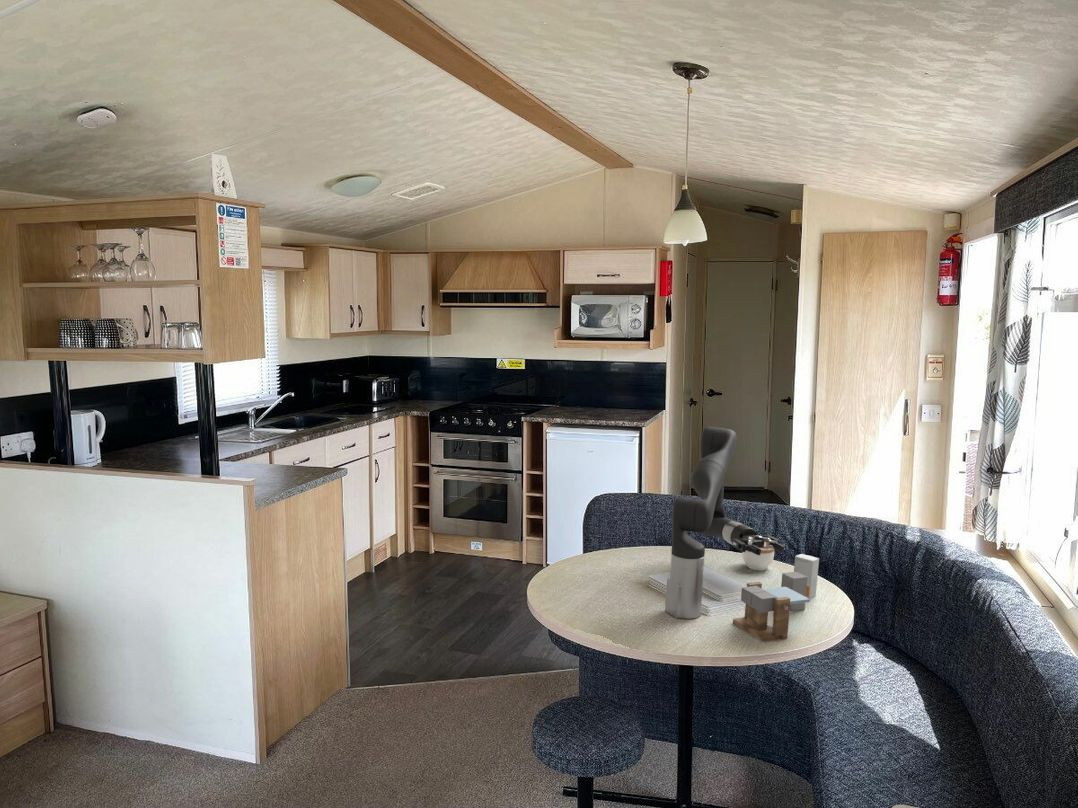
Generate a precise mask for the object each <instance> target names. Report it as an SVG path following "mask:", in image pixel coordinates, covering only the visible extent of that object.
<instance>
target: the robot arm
mask: <svg viewBox="0 0 1078 808" xmlns="http://www.w3.org/2000/svg"><path fill="white" fill-rule="evenodd" d="M737 437H738V436H737V434H736V432H735V431H734V430H732V429H730V428H724V427H717V426H705V427H704V428H703V430H702V433H701V437H700V447H699V448H700V460H699V461H698V462H696V465H695V467H694V468H693V473H692V475H691V485H692V488H693V490H694V492H695V493H696V494H697V496H698V497H699V498H700V499H699V498H692V497H691V498H690V497H683V496H679V497H677V498H675V500H674V502H673V505H672V512H671V514H672V516H671V526H672V527H671V531H672V532H671V551H670V552H671V553H670V554H671V555H670V567H669V568H670V570H669V572H670V573H669V577H668V578H667V579H666V586H665V587H666V588H665V589H666V591H665V603H664V604H665V608H664V611H665V612H667V614H670V615H671V616H672V617H674V618H675V619H680V618H681V619H688V620H689V619H697V618H699V617H700V616H701V615H702V601H703V584H704V570H705V569H704V568H705V567H704V566H705V553H706V548H705V545H704V544H703V543H701V542H700V541H698V540H696V539H695V538H692V537H691V536H690V535H689V534H688V533H687V532H691V533H701V534H702V535H705V536H708V537H714V538H720V539H721V540H724V541H725V542H727V543H728V544H730V545H732V547H733V548H735V549H736V550H738V551H739V552H741V553H742V552H745V551H747V552H752V553H754V554H756V555H761V549H767V550H768V549H769V548H770V549H774V550H775V551H777V552H778V553H784V551H785V545H783V544H781V540H780V539H778V538H776V537H774V536H771V535H769V534H768V535H766V536H765V537H764V536H762V535H759V534H758V532H757V531H756V530H755V529H754V528H752V527H750V526H747V525H746V524H743V523H741V522H739V521H736V520H734V519H731V518H729V517H727V516H726V512H725V507H724V491H725V487H724V486H725V485H724V481H725V477H726V474H727V473H726V472H727V470H728V466H729V464H730V461H731V459H732V457H733V455H734V453H735V450H736V448H737V444H738V438H737ZM764 542H766V547H765V546H764ZM770 545H771V546H770ZM760 548H761V549H760Z"/></svg>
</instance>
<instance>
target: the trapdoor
mask: <svg viewBox="0 0 1078 808" xmlns="http://www.w3.org/2000/svg"><path fill="white" fill-rule="evenodd" d="M782 597H788V598H790V604H798V603H805V604H806V603H810V601H811V598H810V599H809V598H807V597H805V596H803V595H801V594H799V593H797V592H795V591H793V590H791V589H789V588H787V587H781V586H779V587H771V588H762V589H761V588H760V587H758V586H750V587H747V586H744V587H742V586H741V594H740V602H742V603H744V604H747V605H749V606H750V607H752V608H754V609H756V610H757V611H759V612H761V613H764V612H768V613H770V612H774V600H775V598H782Z"/></svg>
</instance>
